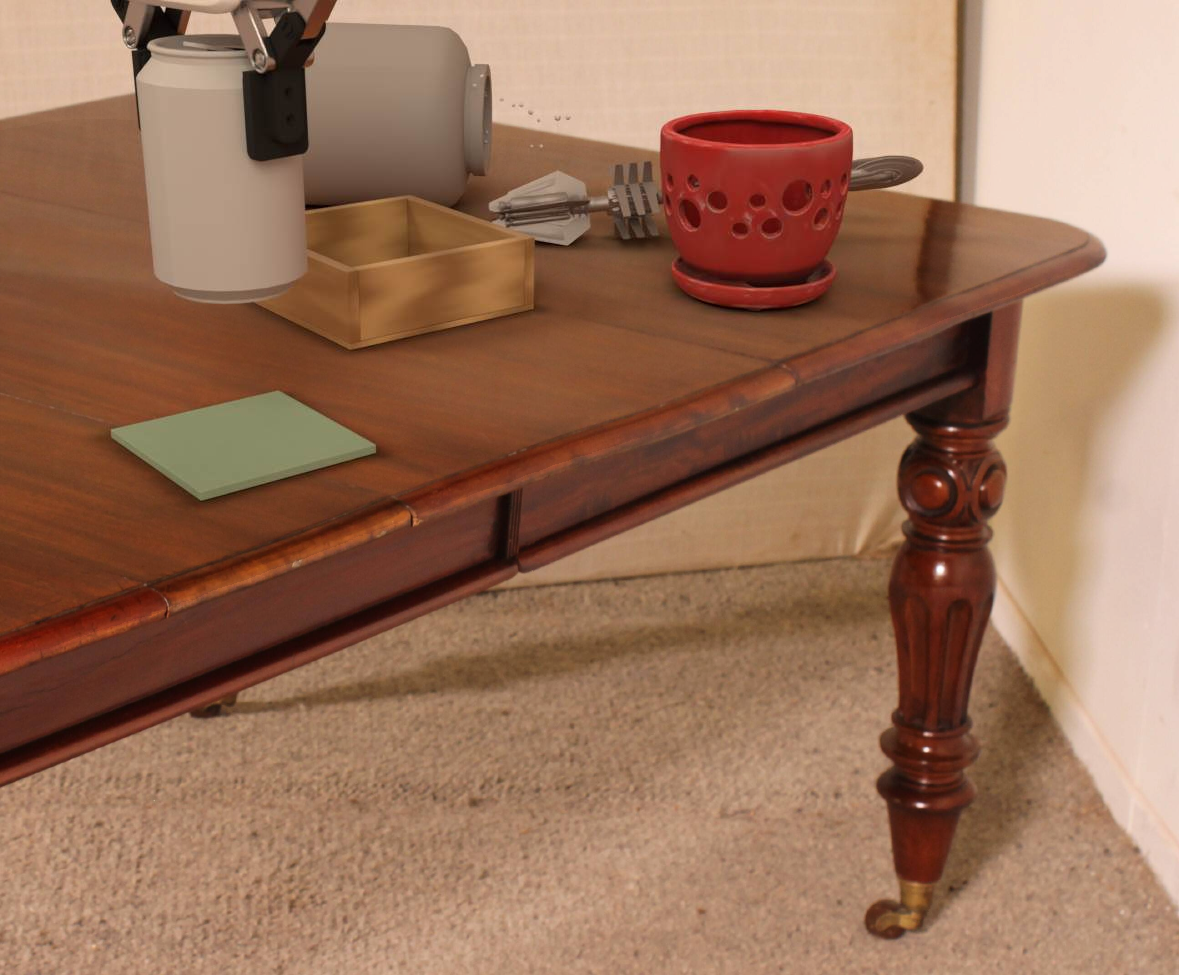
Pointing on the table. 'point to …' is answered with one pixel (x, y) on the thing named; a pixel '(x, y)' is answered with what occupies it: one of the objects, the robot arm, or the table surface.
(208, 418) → the mat
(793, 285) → the flower pot
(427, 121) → the jar
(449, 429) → the table surface
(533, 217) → the spaceship
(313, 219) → the wooden box
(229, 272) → the can
